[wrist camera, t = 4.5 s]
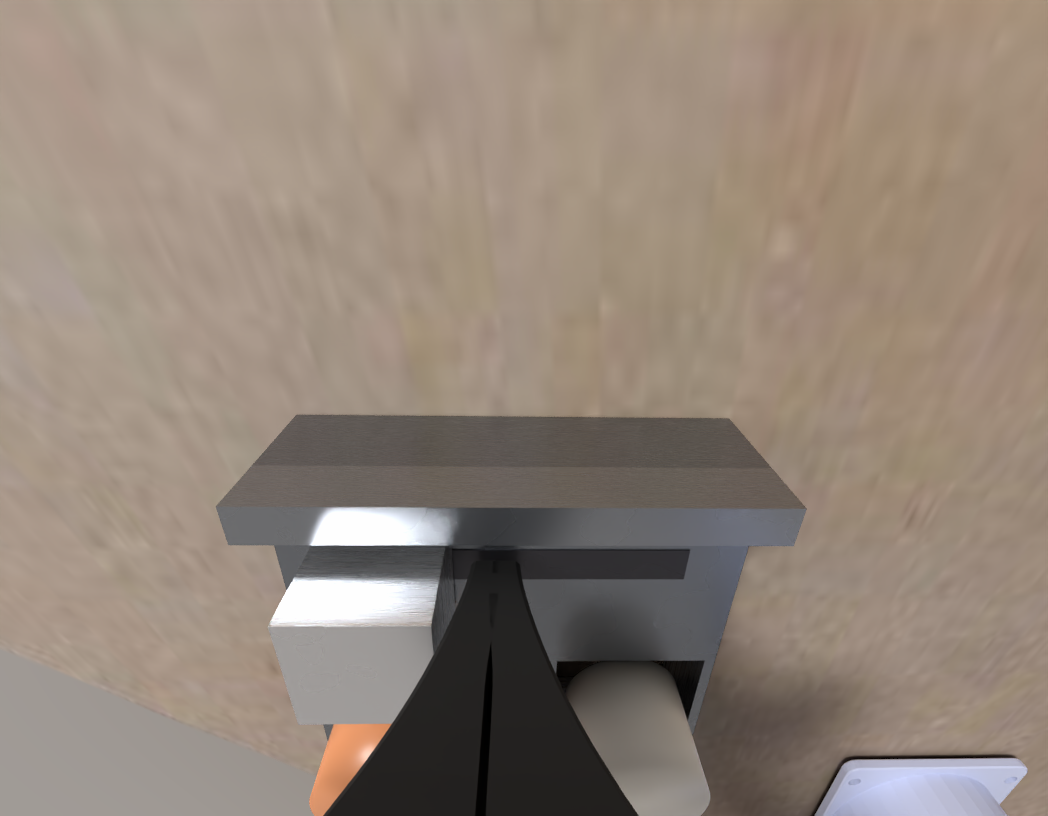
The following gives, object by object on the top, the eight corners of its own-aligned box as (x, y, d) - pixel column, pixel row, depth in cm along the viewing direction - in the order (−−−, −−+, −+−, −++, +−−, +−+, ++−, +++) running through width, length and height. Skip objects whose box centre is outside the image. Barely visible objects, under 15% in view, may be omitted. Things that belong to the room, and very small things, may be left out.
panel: (665, 690, 19) (700, 812, 15) (355, 692, 19) (318, 817, 15) (729, 418, 14) (806, 508, 10) (296, 414, 13) (215, 506, 10)
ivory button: (667, 727, 16) (697, 836, 14) (562, 728, 16) (571, 838, 14) (685, 657, 15) (722, 765, 12) (568, 657, 15) (580, 766, 12)
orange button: (461, 729, 16) (451, 840, 14) (353, 729, 16) (321, 842, 13) (456, 658, 15) (444, 768, 12) (337, 658, 15) (297, 769, 12)
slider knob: (455, 608, 13) (440, 723, 10) (342, 608, 13) (298, 724, 10) (449, 520, 12) (431, 626, 9) (324, 520, 12) (267, 626, 9)
